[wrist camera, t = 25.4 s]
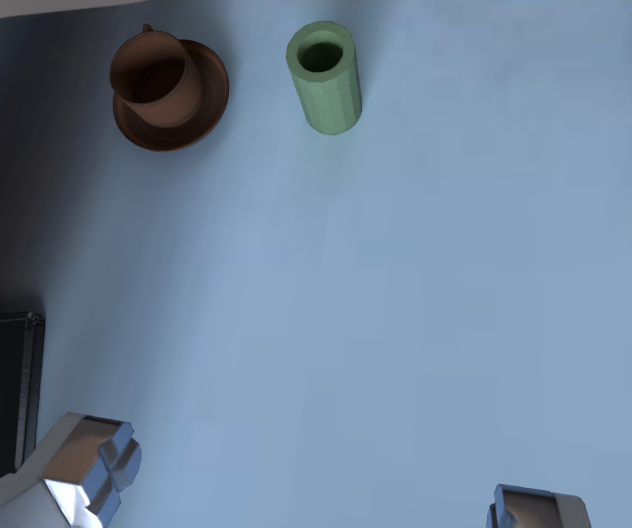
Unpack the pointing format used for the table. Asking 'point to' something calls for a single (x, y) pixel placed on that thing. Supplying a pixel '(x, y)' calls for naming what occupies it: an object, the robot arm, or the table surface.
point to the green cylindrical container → (326, 76)
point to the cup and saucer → (167, 90)
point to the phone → (19, 386)
